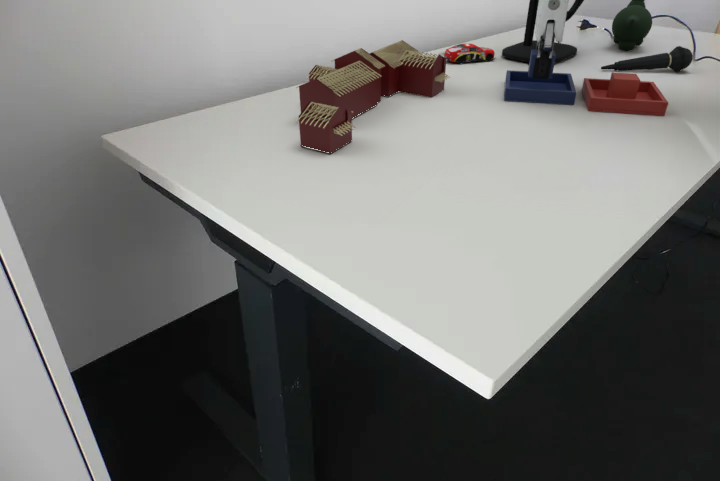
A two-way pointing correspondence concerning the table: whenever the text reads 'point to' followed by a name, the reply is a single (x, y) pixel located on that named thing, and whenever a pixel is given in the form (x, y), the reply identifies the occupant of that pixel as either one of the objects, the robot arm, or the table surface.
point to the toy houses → (362, 89)
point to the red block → (623, 86)
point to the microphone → (656, 61)
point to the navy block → (532, 62)
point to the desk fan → (524, 48)
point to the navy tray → (539, 88)
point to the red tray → (645, 102)
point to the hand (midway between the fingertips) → (540, 73)
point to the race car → (468, 53)
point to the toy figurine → (631, 25)
